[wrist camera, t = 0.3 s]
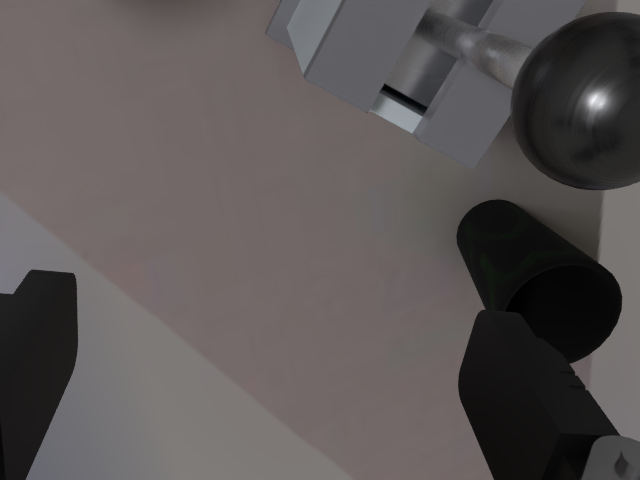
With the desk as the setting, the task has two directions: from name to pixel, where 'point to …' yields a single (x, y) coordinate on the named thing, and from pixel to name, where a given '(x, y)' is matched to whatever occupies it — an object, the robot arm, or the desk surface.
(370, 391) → the desk surface
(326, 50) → the slotted square pillar
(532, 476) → the robot arm
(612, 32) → the plunger
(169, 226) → the desk surface
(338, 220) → the desk surface
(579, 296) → the cup
